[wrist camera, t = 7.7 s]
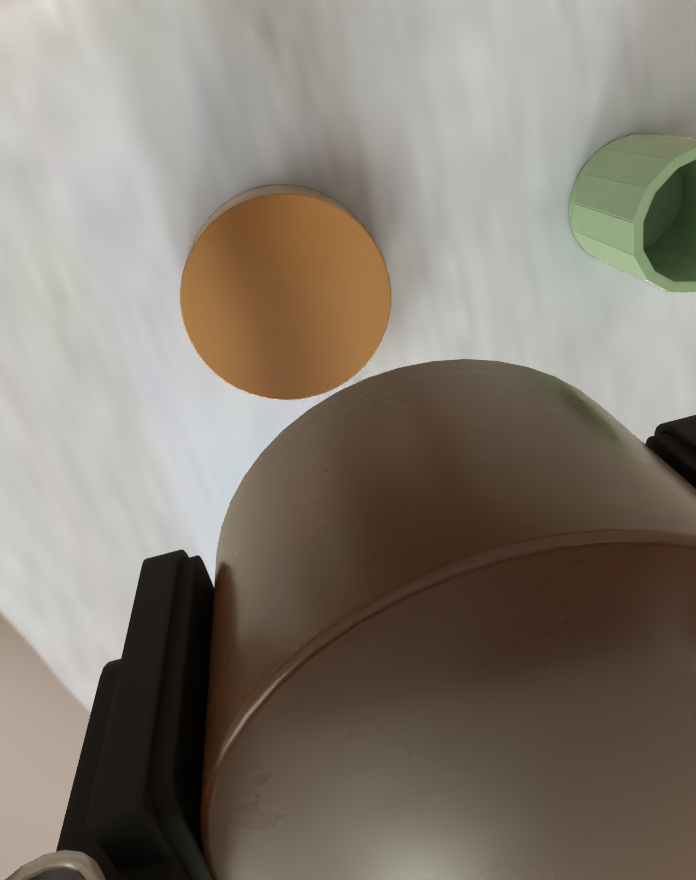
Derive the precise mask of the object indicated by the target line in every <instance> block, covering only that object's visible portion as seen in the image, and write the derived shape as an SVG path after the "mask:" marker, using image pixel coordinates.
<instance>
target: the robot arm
mask: <svg viewBox="0 0 696 880" xmlns="http://www.w3.org/2000/svg"><path fill="white" fill-rule="evenodd" d="M646 446H647V447H649V448H650V449H651V450H652V451H653V452H654V453H655V454H657V455H658V456H659V457H660V458H661V459H662V460H664V461H665V462H666V463H667V464H668V465H669V466H670V467H672V468H673V469H674V470H675V471H676V472H677V473H679V474H680V475H681V476H682V477H683V478H684V479H685V480H687V481H688V482H689V483H690V484H691V485H692V486H694V487H695V488H696V415H693V416H690V417H686V418H682V419H678V420H674V421H670V422H667V423H663V424H660V425H659V426H657V428H656V430H655V435H654V436H651V437H649V438H648V439H647V441H646ZM213 602H214V587H213V584H212V582H211V579H210V577H209V574H208V572H207V570H206V567H205V565H204V562H203V560H202V559H201V557H200V556H194V557H190V558H189V557H188V555H187V553H186V552H185V551H184V550H178V551H174V552H170V553H166V554H163V555H159V556H155V557H151V558H147V559H145V560H144V562H143V564H142V568H141V573H140V577H139V582H138V586H137V591H136V595H135V600H134V604H133V609H132V613H131V618H130V622H129V627H128V631H127V636H126V640H125V645H124V649H123V654H122V658H121V659H118V660H114V661H111V662H108V663H107V664H106V665H105V666H104V668H103V671H102V673H101V676H100V679H99V683H98V687H97V691H96V695H95V699H94V703H93V707H92V711H91V715H90V719H89V723H88V727H87V731H86V735H85V739H84V743H83V747H82V751H81V755H80V759H79V763H78V767H77V771H76V775H75V778H74V783H73V786H72V790H71V794H70V798H69V802H68V806H67V810H66V814H65V818H64V822H63V826H62V830H61V834H60V839H59V842H58V846H57V850H56V852H54V853H50V854H45V855H42V856H40V857H39V858H37V859H35V860H33V861H31V862H29V863H27V864H25V865H23V866H22V867H20V868H19V869H18V870H17V871H15V872H14V873H13V874H12V875H10V876H9V877H8V878H7V879H5V880H212V877H211V875H210V873H209V871H208V868H207V866H206V863H205V858H204V853H203V848H202V843H201V838H200V803H201V788H202V772H203V757H204V741H205V726H206V710H207V695H208V679H209V664H210V648H211V633H212V617H213Z"/></svg>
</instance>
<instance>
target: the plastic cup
mask: <svg viewBox="0 0 696 880" xmlns="http://www.w3.org/2000/svg"><path fill="white" fill-rule="evenodd" d="M569 219H570V225H571V229H572V232H573V234H574V237H575V239H576V240H577V242H578V244H579V245H580V246H581V247H582V249H583V250H585V251H586V252H587V253H588V254H590V255H591V256H593V257H595V258H597V259H599V260H601V261H603V262H605V263H606V264H608V265H610V266H613V267H615V268H617V269H619V270H621V271H623V272H625V273H628V274H630V275H632V276H634V277H636V278H638V279H640V280H643V281H645V282H647V283H649V284H651V285H653V286H655V287H658V288H660V289H662V290H664V291H666V292H669V293H688V292H696V138H691V137H680V136H669V135H648V134H633V135H628V136H624V137H621V138H618V139H616V140H614V141H612V142H610V143H608V144H607V145H605V146H604V147H602V148H601V149H600V150H599V151H598V152H596V153H595V154H594V155H593V156H592V157H591V158H590V159H589V161H588V162H587V163H586V165H585V166H584V167H583V169H582V170H581V172H580V174H579V175H578V178H577V180H576V182H575V184H574V187H573V190H572V193H571V197H570V204H569Z"/></svg>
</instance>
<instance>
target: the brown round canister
mask: <svg viewBox="0 0 696 880" xmlns="http://www.w3.org/2000/svg"><path fill="white" fill-rule="evenodd" d="M200 838H201V843H202V848H203V853H204V858H205V863H206V866H207V868H208V871H209V873H210V875H211V877H212V880H696V488H695V487H694V486H692V485H691V484H690V483H689V482H688V481H687V480H685V479H684V478H683V477H682V476H681V475H680V474H679V473H677V472H676V471H675V470H674V469H673V468H672V467H670V466H669V465H668V464H667V463H666V462H665V461H664V460H662V459H661V458H660V457H659V456H658V455H657V454H655V453H654V452H653V451H652V450H651V449H650V448H649V447H647V446H646V445H645V444H644V443H643V442H642V441H640V440H639V439H638V438H637V437H636V436H635V435H634V434H632V433H631V432H630V431H629V430H628V429H627V428H625V427H624V426H623V425H622V424H621V423H620V422H619V421H617V420H616V419H615V418H614V417H613V416H612V415H610V414H609V413H608V412H607V411H606V410H605V409H604V408H602V407H601V406H600V405H599V404H597V403H596V402H595V401H594V400H592V399H591V398H590V397H588V396H587V395H586V394H584V393H583V392H582V391H580V390H579V389H577V388H575V387H573V386H571V385H569V384H568V383H566V382H564V381H562V380H560V379H558V378H556V377H554V376H551V375H549V374H546V373H543V372H540V371H537V370H534V369H531V368H529V367H525V366H520V365H515V364H509V363H504V362H499V361H488V360H471V359H460V360H446V361H432V362H427V363H422V364H416V365H411V366H406V367H401V368H397V369H394V370H391V371H388V372H385V373H382V374H379V375H376V376H372V377H369V378H367V379H364V380H362V381H360V382H358V383H356V384H354V385H351V386H349V387H347V388H345V389H343V390H341V391H338V392H337V393H335V394H333V395H332V396H330V397H328V398H327V399H325V400H324V401H322V402H320V403H319V404H317V405H316V406H314V407H312V408H311V409H309V410H308V411H307V412H305V413H304V414H303V415H302V416H300V417H299V418H298V419H297V420H295V421H294V422H293V423H292V424H290V425H289V426H288V427H287V428H285V429H284V430H283V431H282V432H281V433H280V434H279V435H278V436H277V437H276V438H275V439H274V440H273V441H272V442H271V444H270V445H269V446H268V447H267V448H266V449H265V450H264V451H263V452H262V453H261V454H260V456H259V457H258V458H257V460H256V461H255V462H254V464H253V465H252V467H251V468H250V469H249V471H248V472H247V473H246V475H245V476H244V478H243V480H242V481H241V483H240V485H239V487H238V489H237V491H236V493H235V495H234V496H233V498H232V500H231V502H230V505H229V508H228V510H227V513H226V516H225V519H224V522H223V524H222V527H221V532H220V538H219V543H218V548H217V556H216V571H215V587H214V602H213V617H212V633H211V648H210V664H209V679H208V695H207V710H206V726H205V741H204V757H203V772H202V788H201V803H200Z"/></svg>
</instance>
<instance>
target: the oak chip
mask: <svg viewBox="0 0 696 880" xmlns="http://www.w3.org/2000/svg"><path fill="white" fill-rule="evenodd" d="M180 304H181V311H182V318H183V321H184V325H185V328H186V331H187V334H188V336H189V338H190V341H191V343H192V344H193V346H194V348H195V350H196V351H197V353H198V354H199V356H200V357H201V358H202V360H203V361H204V362H205V363H206V365H207V366H208V367H209V368H210V369H211V370H212V371H213V372H214V373H215V374H217V375H218V376H219V377H221V378H222V379H223V380H224V381H226V382H227V383H229V384H231V385H232V386H234V387H236V388H237V389H240V390H242V391H244V392H247V393H249V394H252V395H255V396H259V397H262V398H268V399H274V400H299V399H305V398H310V397H314V396H318V395H321V394H324V393H326V392H329V391H331V390H333V389H335V388H337V387H339V386H340V385H342V384H344V383H345V382H347V381H348V380H349V379H351V378H352V377H353V376H354V375H356V374H357V373H358V372H359V371H360V370H361V369H362V368H363V367H364V366H365V365H366V364H367V363H368V361H369V360H370V359H371V357H372V356H373V355H374V353H375V351H376V350H377V348H378V346H379V345H380V343H381V340H382V338H383V336H384V333H385V331H386V328H387V324H388V320H389V315H390V308H391V287H390V278H389V274H388V271H387V267H386V264H385V261H384V259H383V256H382V254H381V252H380V250H379V248H378V246H377V245H376V243H375V241H374V240H373V238H372V237H371V236H370V234H369V233H368V232H367V230H366V229H365V228H364V227H363V226H362V225H361V223H360V222H359V221H358V220H357V219H356V218H355V217H354V216H353V215H352V214H351V213H350V212H349V211H348V210H347V209H346V208H345V207H344V206H342V205H341V204H340V203H338V202H337V201H335V200H334V199H332V198H330V197H328V196H327V195H325V194H323V193H320V192H318V191H315V190H312V189H309V188H305V187H301V186H294V185H269V186H264V187H258V188H255V189H252V190H249V191H246V192H244V193H242V194H240V195H238V196H236V197H234V198H232V199H231V200H229V201H228V202H226V203H225V204H223V205H222V206H221V207H220V208H218V209H217V210H216V211H215V212H214V213H213V214H212V215H211V216H210V217H209V219H208V220H207V221H206V222H205V224H204V225H203V226H202V228H201V230H200V231H199V233H198V235H197V236H196V239H195V241H194V243H193V246H192V248H191V250H190V253H189V255H188V258H187V260H186V263H185V267H184V271H183V274H182V280H181V288H180Z"/></svg>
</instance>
